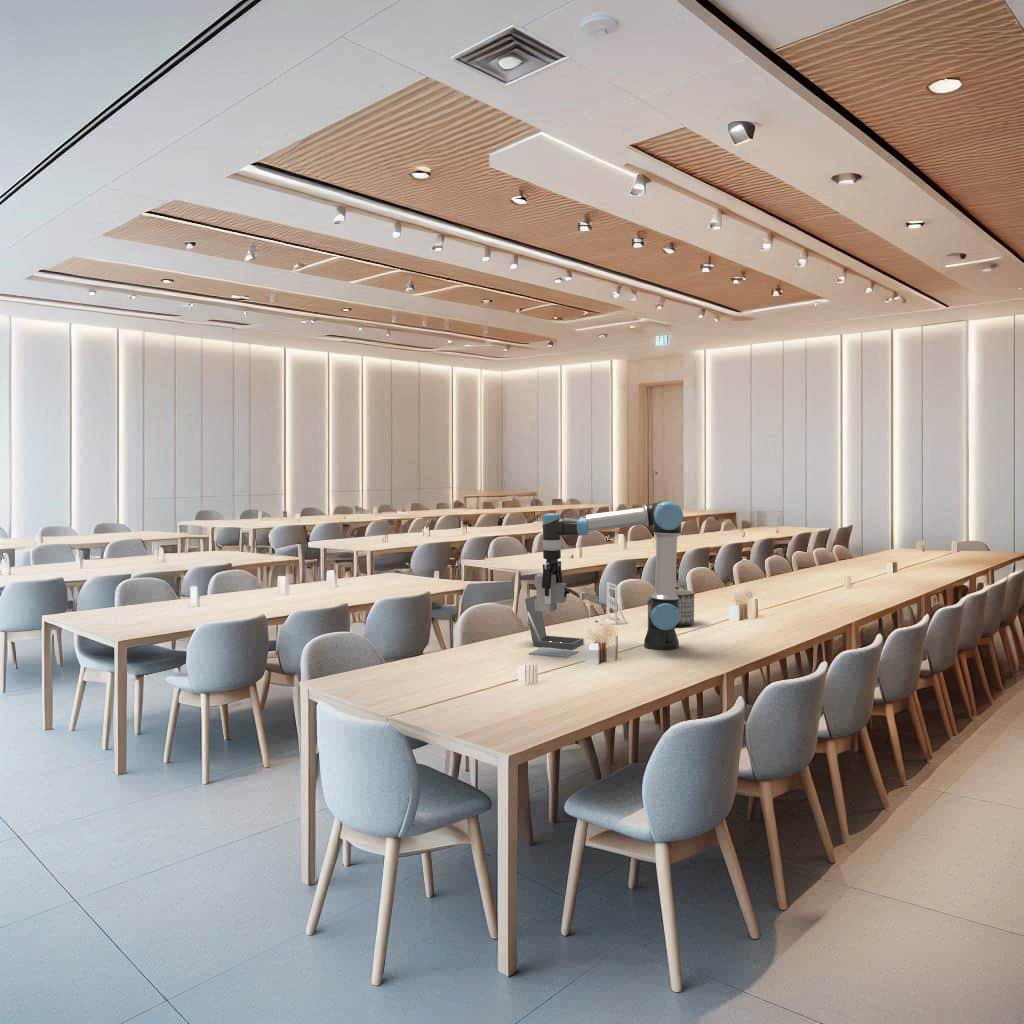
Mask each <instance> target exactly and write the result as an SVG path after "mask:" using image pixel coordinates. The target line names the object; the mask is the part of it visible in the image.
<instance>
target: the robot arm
mask: <svg viewBox="0 0 1024 1024" xmlns="http://www.w3.org/2000/svg"><path fill="white" fill-rule="evenodd" d="M683 519H684V513H683V510H682V508H681V506H680V505H679V504H678V503H676V502H675V501H672V500H668V499H665V500H661V501H657V502H656V501H655V502H653V503H647V504H646V503H645V504H643V506H642V507H635V508H628V509H619V510H613V511H605V512H597V513H590V514H582V515H571V516H570V517H561V514H560V513H553V512H551V513H544V514H543V515H542V542H541V543H542V548H543V549H544V550H543V551H542V553H543V554H542V557H543V559H544V560H546V561H545V563H543V564H542V574H543V577H542V588H545V604H551V588H550V585H551V576H552V574H556V583H564V582H563V573H562V560H560V559H561V558H562V551H561V548H562V545H561V544H562V543H561V541H562V540H561V536H564V537H565V536H588V535H589V532H594V531H595V532H596V531H602V530H603V531H604V530H612V529H618V528H627V527H636V526H643V525H645V526H646V527H653V528H652V533H653V534H654V535H655V536H656V539H655V540H656V542H655V543H656V544H655V546H656V548H655V549H656V550H655V574H654V576H655V578H654V579H655V580H654V593H652V594H649V595H648V596H647V600H646V602H647V631H646V633H645V638H644V642H643V646H644V647H645V648H647V649H651V650H662V651H665V650H675V649H678V648H679V646H680V641H679V638H678V635H677V632H676V627H675V626H676V625H677V624H678V622H679V618H680V614H679V611H678V608H679V597H678V596H677V595H676V594H675V589H676V585H677V584H676V582H677V580H676V578H677V555H678V554H677V552H678V551H677V550H678V548H677V547H678V537H679V536H680V535H681V534H682V522H683Z"/></svg>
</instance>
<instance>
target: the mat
mask: <svg viewBox="0 0 1024 1024" xmlns="http://www.w3.org/2000/svg"><path fill="white" fill-rule="evenodd" d="M578 653H579V651H578V650H570V649H559V648H548V647H539V648H538V649H535V650H532V651H531V652H528V655H533V656H545V657H553V658H554V657H555V658H566V659H568V658H569V657H572V656H574V655H575V654H578Z"/></svg>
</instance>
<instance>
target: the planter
mask: <svg viewBox="0 0 1024 1024" xmlns="http://www.w3.org/2000/svg"><path fill="white" fill-rule="evenodd" d="M675 594H676V595H677V596H678V597H679V608H678V611H679V614H680V618H679V622H678V624H677V625H676V626H675V628H676V627H677V628H678V627H680V628H681V627H685V626H686V625H692V624H694V621H695V591H693V590H690V589H689V590H687V589H676V588H675Z"/></svg>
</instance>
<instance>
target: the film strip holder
mask: <svg viewBox="0 0 1024 1024" xmlns="http://www.w3.org/2000/svg"><path fill="white" fill-rule="evenodd" d="M605 588H606V589H605V590H606V592H605V593H606V595H605V596H606V600H605V601H606V603H605V604H606V620H607V621H609V620H610V621H609V622H610V624H612V625H611V626H613V625H617V626H618V625H626V624H629V622H628V621H626V618H625V616H624V614H623V611H622V610H621V609H620V606H619V603H618V585H617V584H614V583H613V582H609V581H607V582H606V587H605ZM610 590H614V594H615V597H613V596H611V593H610ZM611 609H612V611H613V613H614V615H615V617H614V616H612V615H611V613H610V611H611ZM618 611H619V613H620V615H621V617H622V620H623V621H620V620H621V619H620V618H619V617H618Z"/></svg>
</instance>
